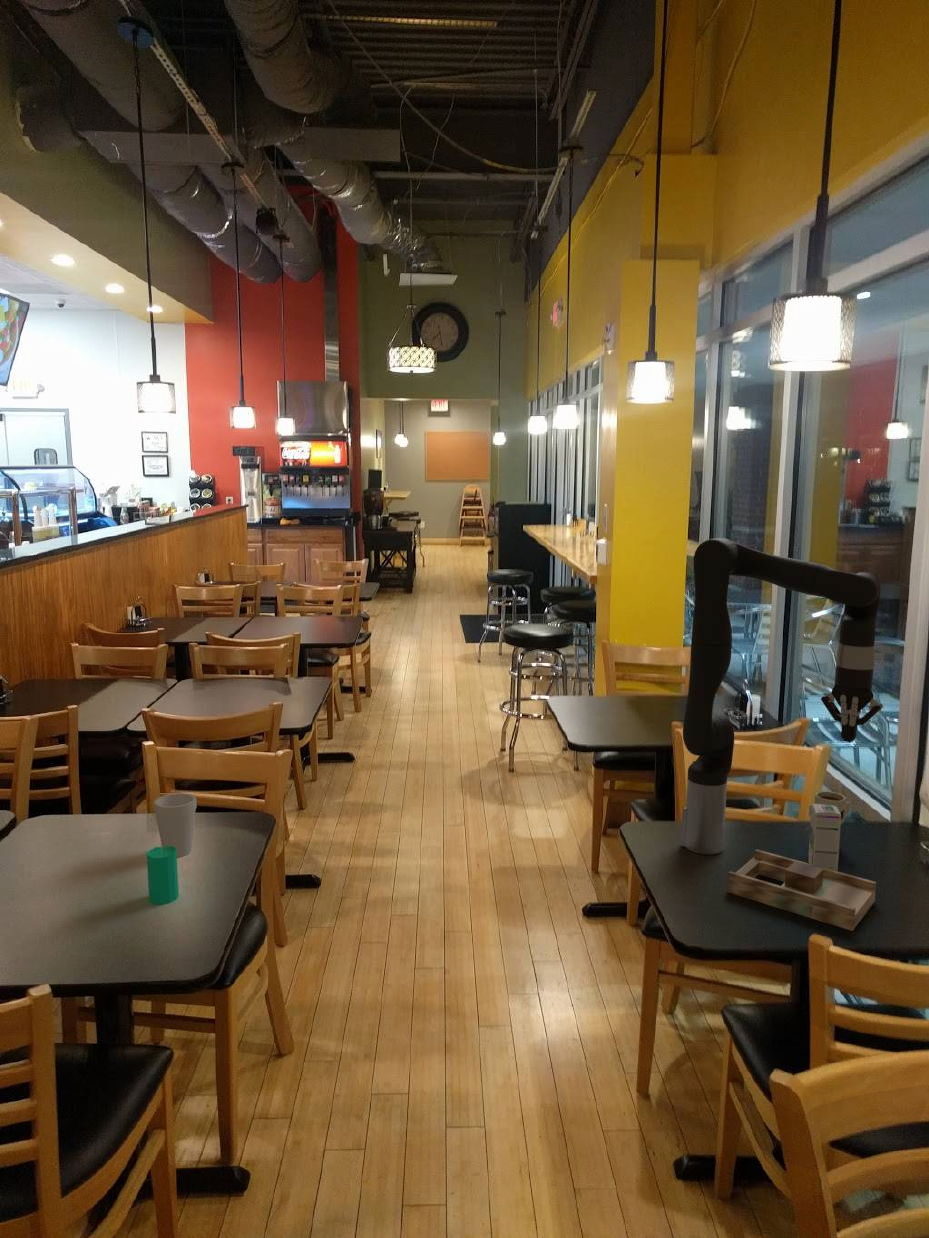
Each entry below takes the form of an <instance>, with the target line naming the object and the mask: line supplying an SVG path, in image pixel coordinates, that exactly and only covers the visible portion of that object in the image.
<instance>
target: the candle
mask: <svg viewBox="0 0 929 1238" xmlns="http://www.w3.org/2000/svg"><path fill="white" fill-rule="evenodd" d="M146 864H147V865H146V867H147V881H148V882H147V883H148V899H149V900H148V901H149V903H151V904H154V905H166V904H171V903H173V902H174V901H176V900H178V898H179V878H178V877H179V875H178V858H177V851H176V848H175V847H173V846H167V847H162V844H161V843H160V846H155V847H153V848H151V849H150V850H147V851H146Z"/></svg>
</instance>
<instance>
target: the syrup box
mask: <svg viewBox="0 0 929 1238" xmlns="http://www.w3.org/2000/svg"><path fill="white" fill-rule="evenodd" d="M811 804H812V805H811ZM811 804H810V805H811V817H810V819H809V820H810V824H809V840H808V841H809V842H808V857H807V858H808V859H807V863H809V864H812V865H816V866H819V867H823V868H827V869H830V870H834V871H838V870H839V857H840V848H839V843H840V844H841V825H842V824H841V814H840V812H839V810H838V808H837V806H835V805H829V804H814V803H811ZM840 824H841V825H840ZM838 872H839V871H838Z"/></svg>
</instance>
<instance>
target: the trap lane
mask: <svg viewBox="0 0 929 1238" xmlns="http://www.w3.org/2000/svg"><path fill="white" fill-rule="evenodd" d="M753 853H754V855H753V857H752V858H751V859H750V860H749V861H747V862H746V863H745V864H744V865H743V866H742V867H740V868H739V869H738V870H736V872H735V871H731V870H729V871H728V877H727V889H726V890H727V891H726V893H729V894H732V895H735V896H739V897H742V898H745V899H749V900H752V901H754V902H758V903H762V904H765V905H768V906H771V907H774V908H777V909H780V910H783V911H787V912H789V913H794V914H796V915H800V916H802V917H806V918H808V919H813V920H816V921H820V922H823V923H825V924H829V925H830V926H831V925H833V926H835V927H839V928H842V929H845V930H847V931H851V932H853V931H854V930H855V929H856V927H857V926H858V924H859V923H860V922H861V920H863V918H864V916H865V915H866V914H867V913H868V911H869V910H870V909H871V907H872V906H873V905H874V903H875V902H876V901H875V900H876V892H877V891H876V890H877V881H874V880H871V879H866V878H863V877H860V876H855V875H852V874H848V873H844V872H841V871H834V870H830V869H827V868H823V867H819V866H816V865H812V864H809V862H804V861H801V860H797V859H793V858H790V857H787V856H784V855H780V854H776V853H775V854H774V853H772V852H768V851H764V850H761V849H755V850H754V852H753ZM795 861H797V862H801V863H805V864H808V865H812V866H816V867H819V868H823V869H824V870H823V883H822V885H821V886H820V887H819V888H818V889H817V890H816V892H815V893H814V894H812V893H808V892H805V891H801V890H798V889H795V888H791V887H788V886H785V873H786V869H787V868H788V867H790V866H791V865H792V864H793V863H794V862H795ZM758 876H762V877H767V878H768V879H773V880H776V881H780V882H783V883H782V884H781V885H778V884H776V883H772V882H769V881H765V880H761V879H758V878H757V877H758Z"/></svg>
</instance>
